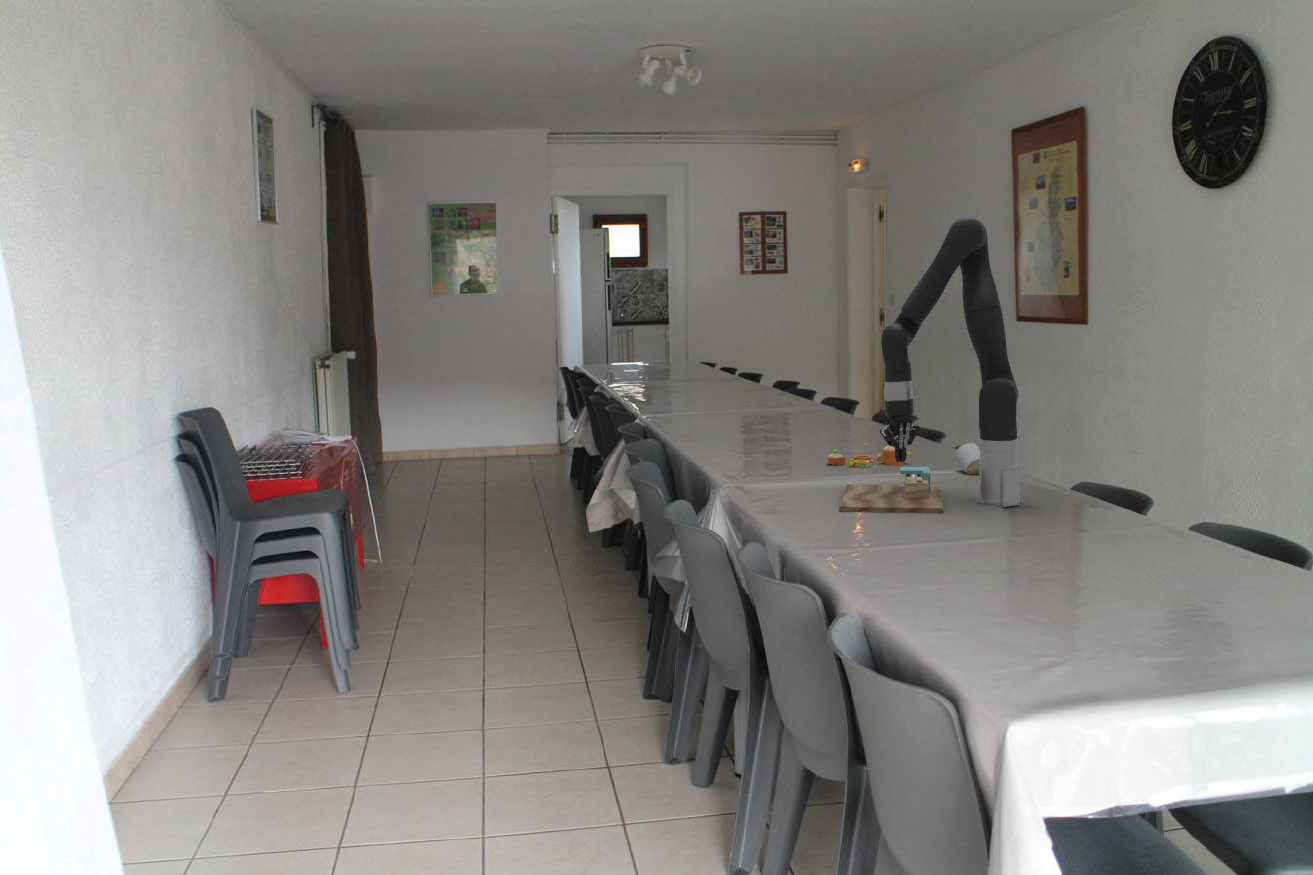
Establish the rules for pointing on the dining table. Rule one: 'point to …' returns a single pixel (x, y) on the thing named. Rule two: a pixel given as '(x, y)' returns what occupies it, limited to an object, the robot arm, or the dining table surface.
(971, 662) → the dining table surface
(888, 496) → the walnut board
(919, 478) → the maple link
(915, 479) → the rod
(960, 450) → the ceramic mug
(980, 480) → the robot arm
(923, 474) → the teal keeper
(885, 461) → the toy tea set
